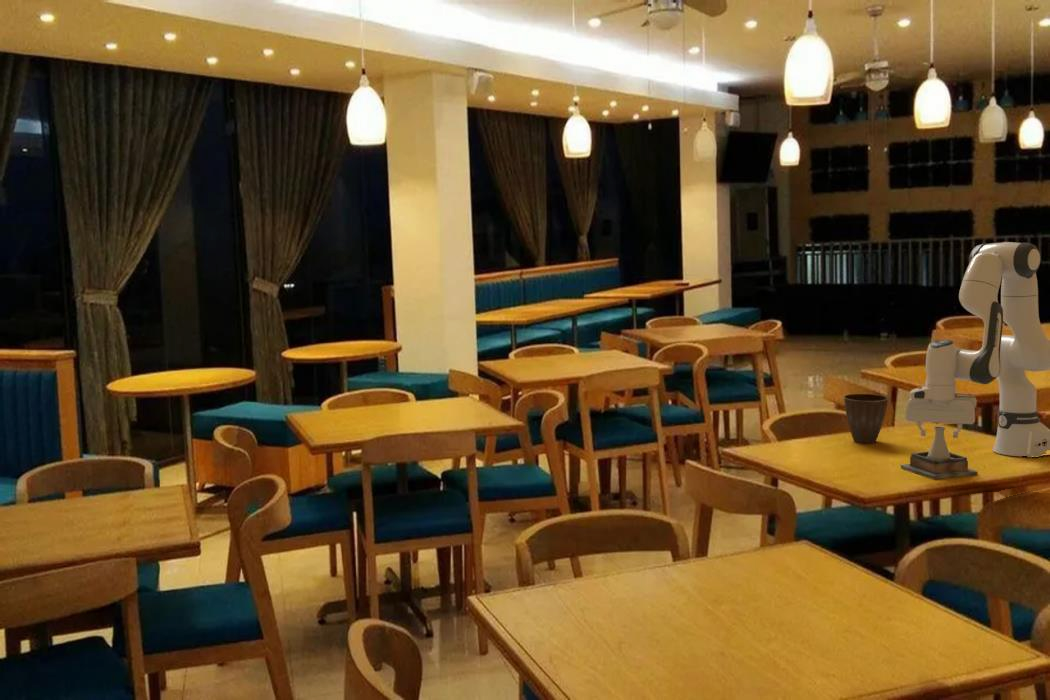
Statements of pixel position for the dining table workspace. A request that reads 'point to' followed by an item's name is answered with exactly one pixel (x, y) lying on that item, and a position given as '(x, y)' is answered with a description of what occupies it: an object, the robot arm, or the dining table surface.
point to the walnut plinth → (939, 466)
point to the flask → (939, 446)
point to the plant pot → (865, 416)
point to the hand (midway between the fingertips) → (939, 436)
